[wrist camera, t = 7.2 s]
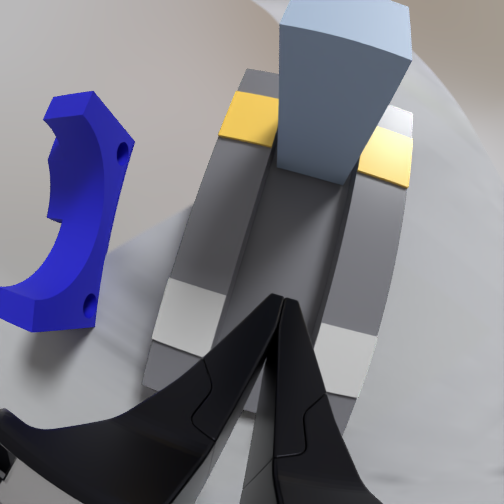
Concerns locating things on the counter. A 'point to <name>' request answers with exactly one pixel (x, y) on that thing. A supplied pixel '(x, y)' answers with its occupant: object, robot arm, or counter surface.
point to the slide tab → (337, 80)
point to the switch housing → (286, 247)
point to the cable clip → (74, 216)
